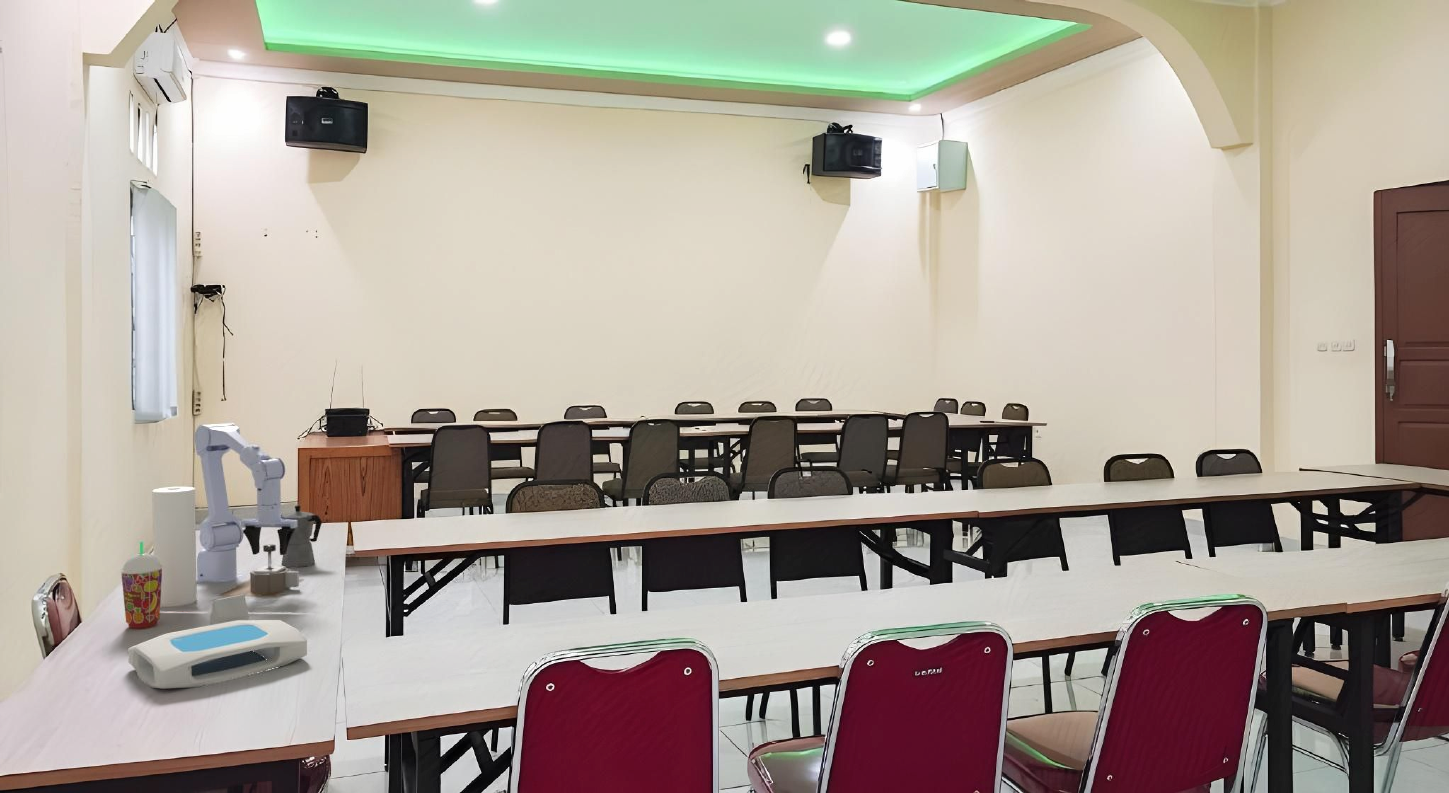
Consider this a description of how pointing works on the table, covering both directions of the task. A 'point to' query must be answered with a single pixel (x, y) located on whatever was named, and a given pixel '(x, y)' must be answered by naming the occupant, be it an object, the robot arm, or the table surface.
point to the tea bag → (229, 610)
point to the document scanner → (215, 652)
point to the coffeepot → (301, 539)
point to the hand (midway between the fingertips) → (269, 553)
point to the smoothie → (142, 589)
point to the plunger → (269, 555)
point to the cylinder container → (175, 543)
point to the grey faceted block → (273, 579)
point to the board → (247, 591)
